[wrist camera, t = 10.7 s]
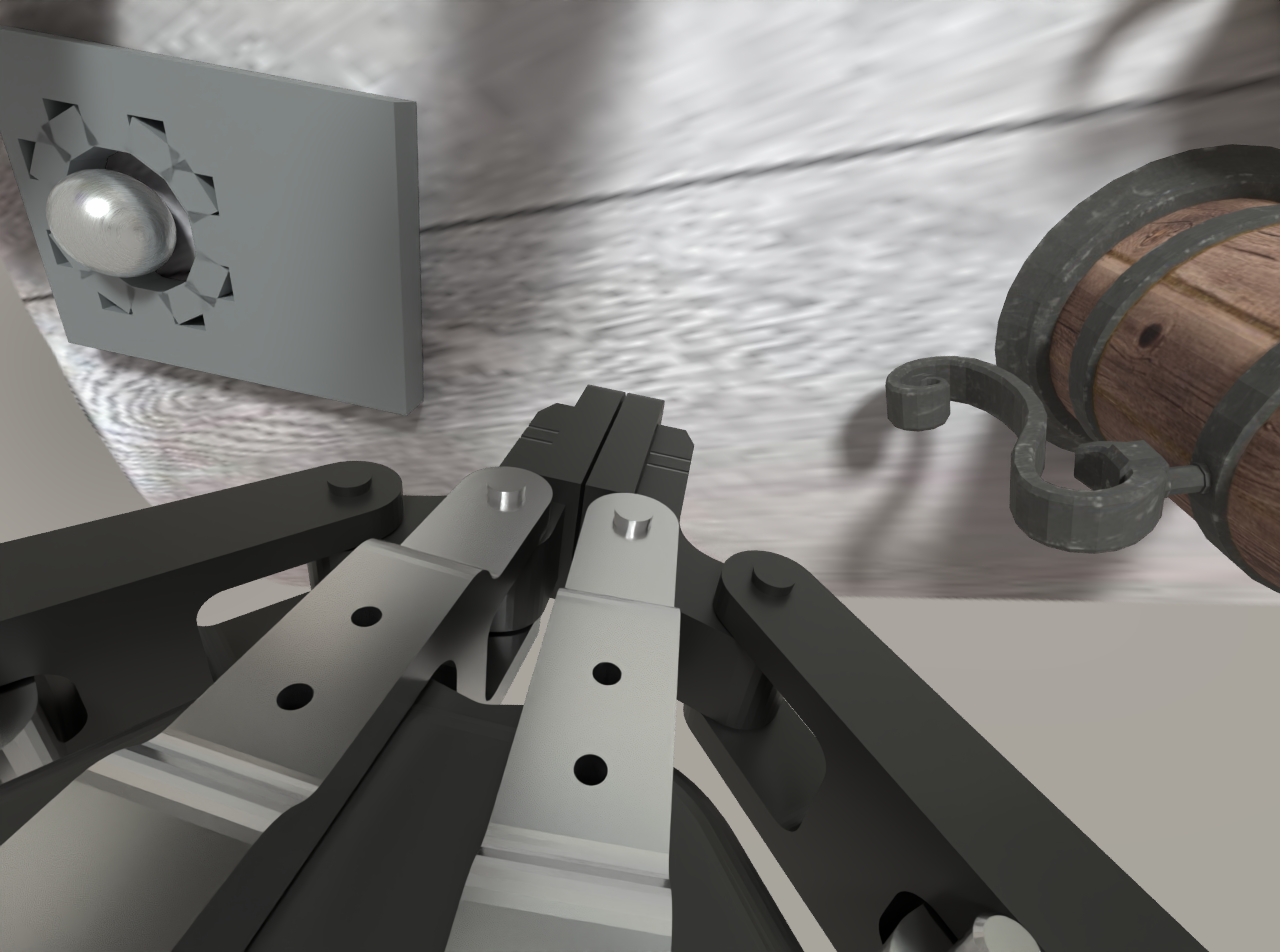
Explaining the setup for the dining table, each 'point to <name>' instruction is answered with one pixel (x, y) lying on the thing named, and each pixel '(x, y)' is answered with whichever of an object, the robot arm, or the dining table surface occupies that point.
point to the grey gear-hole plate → (234, 215)
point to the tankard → (1140, 362)
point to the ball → (111, 223)
